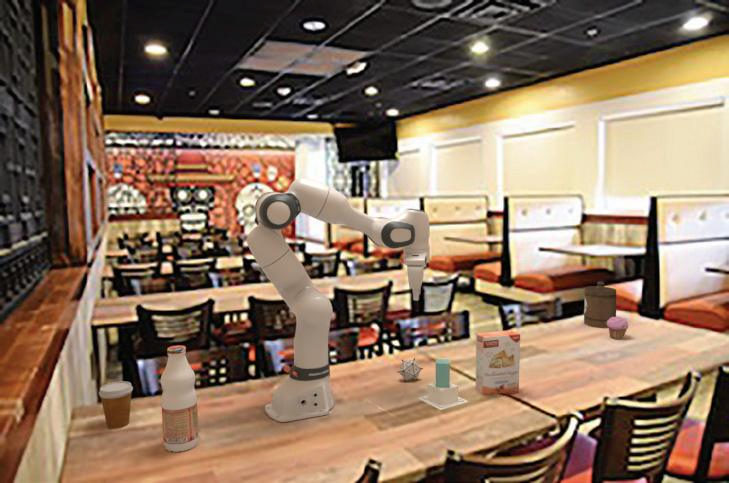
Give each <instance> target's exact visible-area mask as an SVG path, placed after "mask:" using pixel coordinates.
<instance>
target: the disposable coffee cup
mask: <svg viewBox="0 0 729 483" xmlns="http://www.w3.org/2000/svg"><path fill="white" fill-rule="evenodd" d="M99 389H100V390H99V392H98V395H99V397H100V399H101V400H100V401H101V404H102V409H103V414H104V418H105V423H106V427H107V428H108V427H109V428H108V429H120V428H124V427H125V426H128V425H129V423H130V416H131V404H132V402H131V401H132V392H133V390H134V387H133V386H132V383H131V382H130V381H114V382H109V383H106V384H104V385H102V386H101V387H100V388H99ZM123 426H124V427H123Z"/></svg>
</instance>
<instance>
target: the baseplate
mask: <svg viewBox="0 0 729 483" xmlns="http://www.w3.org/2000/svg"><path fill="white" fill-rule="evenodd" d="M417 399H419V400H421V401H422V402H424V403H426V404H428V405H430V406H432V407H434V408H436V409H437V410H439V411H443V410H446V409H448V408H449V409H450V408H452V407H456V406H458V405H463V404H466V403H469V402H470V401H468V400H467V399H465V398H462V397H460V396H458V401H456V402H452V403H449V404H445V405H439V404H437V403H435V402H433V401H432V400H430V399H428V394H426V395H423V396H419V397H417Z"/></svg>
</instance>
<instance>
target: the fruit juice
mask: <svg viewBox="0 0 729 483" xmlns="http://www.w3.org/2000/svg"><path fill="white" fill-rule="evenodd" d="M186 351H187V347H186V346H185V345H182V344H181V345H171V346H169V347H167V349H166V353H167V356H168V358H167V361H166V365H165V368H164V371H163V372H162V374H161V377H160V385H161V388H162V394H161V398H160V399H161V400H160V401H161V402H160V403H161V405H160V407H161V422H162V438H163V447H164V449H165V451H168V452H171V451H173V452H174V453H180V452H179V451H181V452H185V450H186V451H189V450H192V449H194V448H195V447H196V446H197V445H198V444H199V438H200V435H199V433H200V432H199V418H198V417H199V416H198V413H199V412H198V398H197V397H198V396H197V391H196V389H195V384H196V374H195V372H194V370H193V369H192V366H191V365H190V364H189V361H188V359H187V356H186V353H187V352H186ZM188 449H189V450H188ZM173 452H172V453H173Z"/></svg>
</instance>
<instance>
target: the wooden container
mask: <svg viewBox="0 0 729 483" xmlns="http://www.w3.org/2000/svg"><path fill="white" fill-rule="evenodd" d="M596 283H597V284H596V286H595V285H594V286H587V287H585V288H584V303H583V304H584V305H583V308H584V309H583V324H585V325H586V326H589V327H592V328H599V329H600V328H603V329H605V328H606V329H609V327H608V326H607V321H608V320H609V319H610V318H611V317H617V289H616V288H613V287H605V282H603V281H602V280H599V281H597V282H596Z"/></svg>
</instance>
